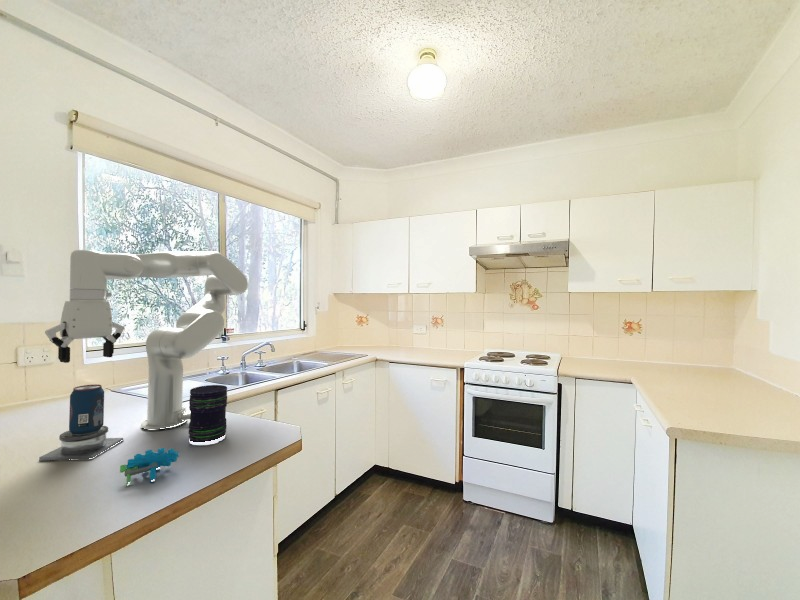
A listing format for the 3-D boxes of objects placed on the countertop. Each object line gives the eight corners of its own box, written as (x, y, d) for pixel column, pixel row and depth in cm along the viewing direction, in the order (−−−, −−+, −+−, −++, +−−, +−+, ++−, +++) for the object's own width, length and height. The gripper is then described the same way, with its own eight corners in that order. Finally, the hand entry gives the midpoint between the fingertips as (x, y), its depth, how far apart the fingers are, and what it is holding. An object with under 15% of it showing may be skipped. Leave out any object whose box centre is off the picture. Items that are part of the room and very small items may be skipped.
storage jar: (209, 448, 98) (211, 394, 98) (179, 444, 100) (181, 391, 100) (233, 435, 108) (234, 386, 108) (205, 432, 110) (206, 383, 110)
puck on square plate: (123, 441, 101) (123, 423, 101) (91, 459, 89) (92, 440, 89) (77, 442, 100) (77, 424, 100) (39, 461, 88) (39, 441, 88)
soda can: (73, 429, 96) (75, 385, 97) (106, 425, 100) (107, 383, 100) (64, 438, 90) (66, 391, 90) (99, 433, 94) (100, 388, 94)
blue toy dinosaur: (181, 458, 88) (174, 440, 81) (182, 482, 85) (174, 466, 78) (127, 472, 83) (114, 455, 76) (125, 498, 80) (112, 483, 73)
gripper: (116, 296, 105) (114, 354, 105) (38, 295, 89) (37, 363, 89) (132, 297, 102) (130, 356, 102) (55, 295, 86) (53, 365, 86)
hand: (87, 359), depth 96 cm, fingers open, 9 cm apart
